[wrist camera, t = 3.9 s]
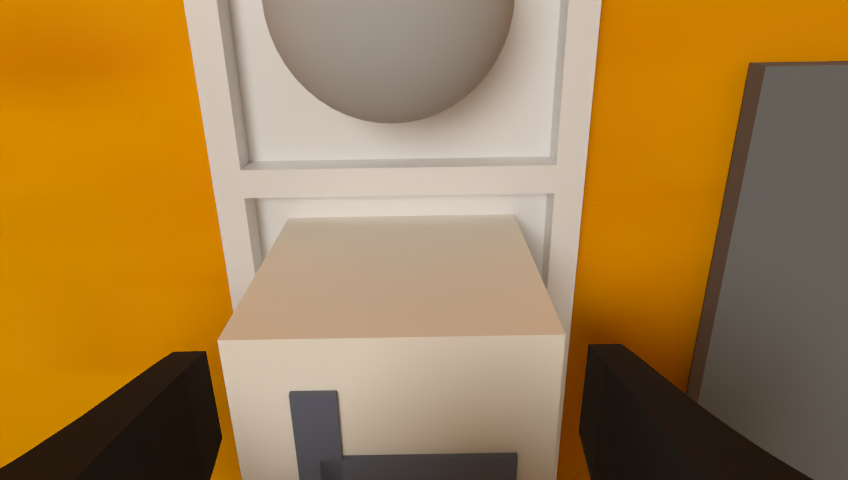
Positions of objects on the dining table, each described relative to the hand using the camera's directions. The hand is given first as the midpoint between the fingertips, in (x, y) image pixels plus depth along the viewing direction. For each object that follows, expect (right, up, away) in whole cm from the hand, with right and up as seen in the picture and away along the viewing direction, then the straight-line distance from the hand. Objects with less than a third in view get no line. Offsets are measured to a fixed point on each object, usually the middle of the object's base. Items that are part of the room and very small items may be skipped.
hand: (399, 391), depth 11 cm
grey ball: (0, +8, 0) cm, 8 cm away
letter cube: (0, +1, +3) cm, 3 cm away
